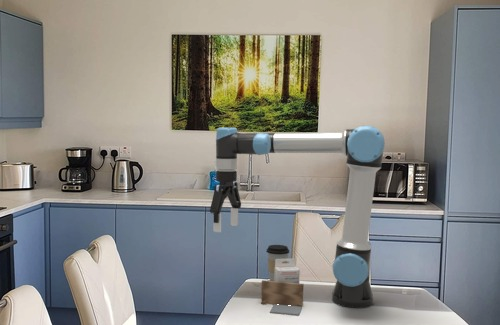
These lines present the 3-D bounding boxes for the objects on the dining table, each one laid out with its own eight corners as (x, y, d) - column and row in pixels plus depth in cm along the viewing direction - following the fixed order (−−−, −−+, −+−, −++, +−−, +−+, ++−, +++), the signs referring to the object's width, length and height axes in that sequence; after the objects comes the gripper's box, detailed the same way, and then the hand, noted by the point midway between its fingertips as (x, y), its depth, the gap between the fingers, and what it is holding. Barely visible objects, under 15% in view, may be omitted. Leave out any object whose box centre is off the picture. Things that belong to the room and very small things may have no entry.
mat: (301, 308, 191) (302, 306, 191) (298, 315, 183) (298, 314, 183) (274, 305, 193) (274, 304, 193) (269, 312, 186) (269, 311, 186)
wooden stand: (303, 304, 195) (303, 283, 194) (302, 308, 191) (302, 285, 191) (262, 300, 198) (263, 279, 198) (260, 304, 195) (261, 282, 194)
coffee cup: (286, 287, 216) (287, 250, 215) (263, 285, 218) (264, 248, 217) (290, 280, 225) (290, 245, 224) (267, 279, 227) (268, 243, 226)
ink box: (276, 301, 198) (277, 262, 197) (273, 297, 203) (274, 258, 202) (299, 300, 199) (300, 261, 198) (295, 296, 204) (296, 258, 203)
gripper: (232, 167, 208) (232, 222, 210) (200, 172, 186) (199, 233, 187) (250, 168, 205) (249, 224, 206) (219, 173, 182) (219, 235, 184)
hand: (226, 228), depth 197 cm, fingers open, 13 cm apart
